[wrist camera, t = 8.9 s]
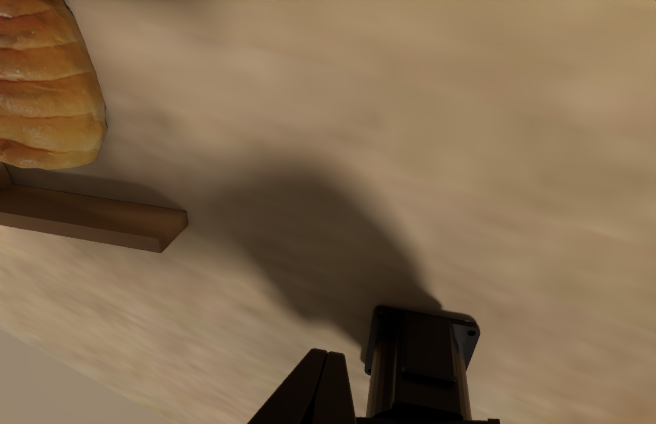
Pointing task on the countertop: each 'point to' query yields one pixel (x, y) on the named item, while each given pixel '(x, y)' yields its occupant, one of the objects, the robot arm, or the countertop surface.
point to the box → (88, 217)
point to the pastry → (47, 88)
